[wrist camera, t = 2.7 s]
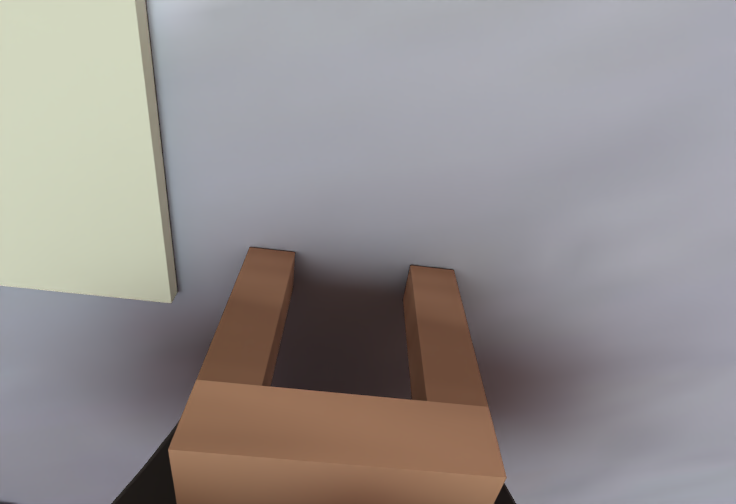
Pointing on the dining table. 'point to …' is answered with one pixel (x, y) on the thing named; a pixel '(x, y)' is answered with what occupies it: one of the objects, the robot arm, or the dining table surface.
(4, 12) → the mat
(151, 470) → the robot arm
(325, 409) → the stool
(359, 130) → the dining table surface
